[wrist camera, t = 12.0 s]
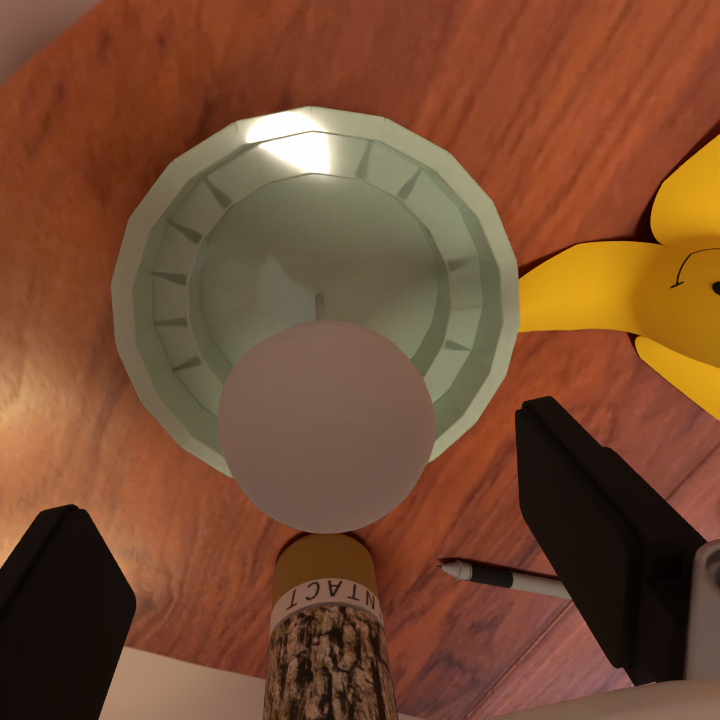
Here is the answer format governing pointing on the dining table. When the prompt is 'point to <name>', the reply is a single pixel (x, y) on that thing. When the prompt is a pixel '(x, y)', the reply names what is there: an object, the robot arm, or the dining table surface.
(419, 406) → the lollipop
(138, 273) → the bowl
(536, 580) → the pen
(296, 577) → the paper tube
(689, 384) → the banana peel
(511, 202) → the dining table surface
